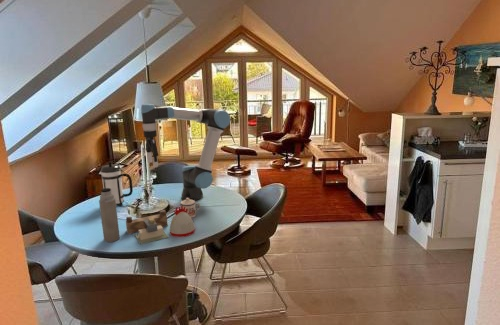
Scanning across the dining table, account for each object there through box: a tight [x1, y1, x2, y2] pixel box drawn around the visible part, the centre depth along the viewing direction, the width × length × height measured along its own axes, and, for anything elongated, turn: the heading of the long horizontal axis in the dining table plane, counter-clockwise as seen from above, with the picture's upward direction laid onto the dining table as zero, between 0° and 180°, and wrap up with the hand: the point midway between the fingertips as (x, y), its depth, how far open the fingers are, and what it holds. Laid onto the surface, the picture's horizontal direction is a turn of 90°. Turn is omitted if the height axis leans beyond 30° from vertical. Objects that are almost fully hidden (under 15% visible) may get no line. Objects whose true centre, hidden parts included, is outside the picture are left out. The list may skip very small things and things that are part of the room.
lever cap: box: [144, 217, 157, 233], centre depth 199 cm, size 5×8×6 cm, turn 29°
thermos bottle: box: [98, 188, 121, 243], centre depth 196 cm, size 8×8×28 cm
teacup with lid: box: [180, 198, 201, 219], centre depth 228 cm, size 12×9×12 cm
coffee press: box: [98, 161, 134, 207], centre depth 250 cm, size 17×16×30 cm
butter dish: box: [134, 225, 169, 245], centre depth 200 cm, size 15×12×5 cm
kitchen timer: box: [169, 205, 196, 238], centre depth 205 cm, size 14×14×15 cm
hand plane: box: [125, 209, 169, 235], centre depth 211 cm, size 22×5×8 cm, turn 119°
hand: (152, 164), depth 227 cm, fingers open, 13 cm apart
